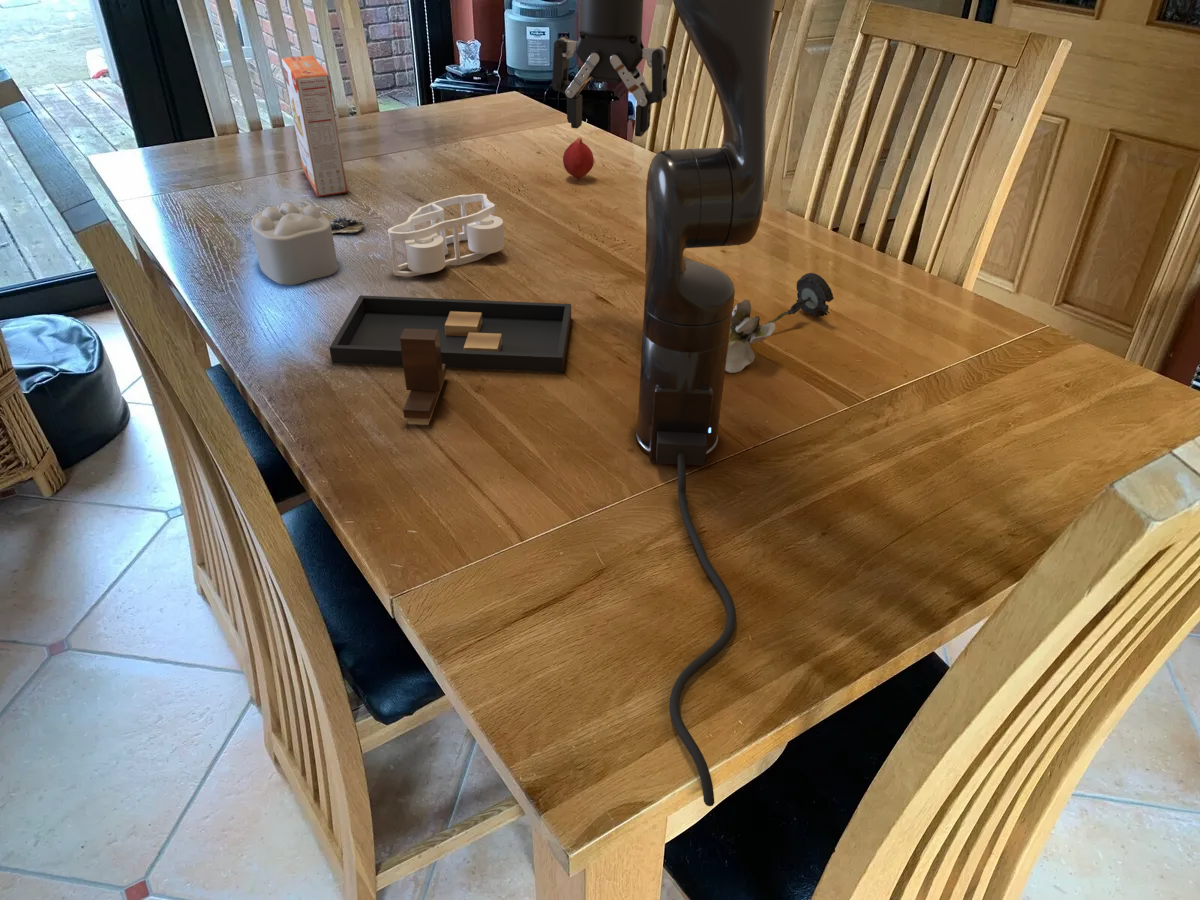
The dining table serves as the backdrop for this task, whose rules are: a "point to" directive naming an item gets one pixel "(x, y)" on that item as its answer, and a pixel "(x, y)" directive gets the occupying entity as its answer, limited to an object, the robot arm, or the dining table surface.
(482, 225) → the wheeled car silhouette
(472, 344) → the offcut
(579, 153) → the onion
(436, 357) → the brush
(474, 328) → the offcut
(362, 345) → the tray
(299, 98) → the cracker box
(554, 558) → the dining table surface
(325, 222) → the lumpy-topped squat cylinder
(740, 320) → the artificial flower
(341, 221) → the lumpy flat slab
